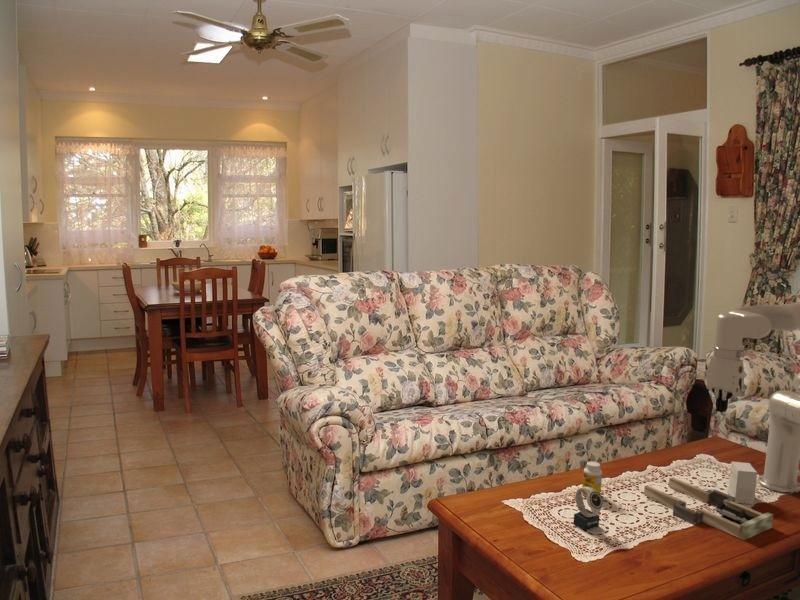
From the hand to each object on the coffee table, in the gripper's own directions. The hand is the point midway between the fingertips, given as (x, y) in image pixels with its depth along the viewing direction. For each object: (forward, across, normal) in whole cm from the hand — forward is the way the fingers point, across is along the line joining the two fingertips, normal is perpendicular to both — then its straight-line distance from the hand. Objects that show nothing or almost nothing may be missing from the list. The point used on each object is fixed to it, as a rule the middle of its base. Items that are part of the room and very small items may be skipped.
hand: (721, 410), depth 217 cm
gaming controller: (+27, -14, +12) cm, 33 cm away
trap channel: (+27, -6, +14) cm, 31 cm away
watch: (+27, +6, +52) cm, 59 cm away
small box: (+27, -7, -4) cm, 28 cm away
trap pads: (+27, -6, +14) cm, 31 cm away
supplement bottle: (+27, +19, +35) cm, 48 cm away
